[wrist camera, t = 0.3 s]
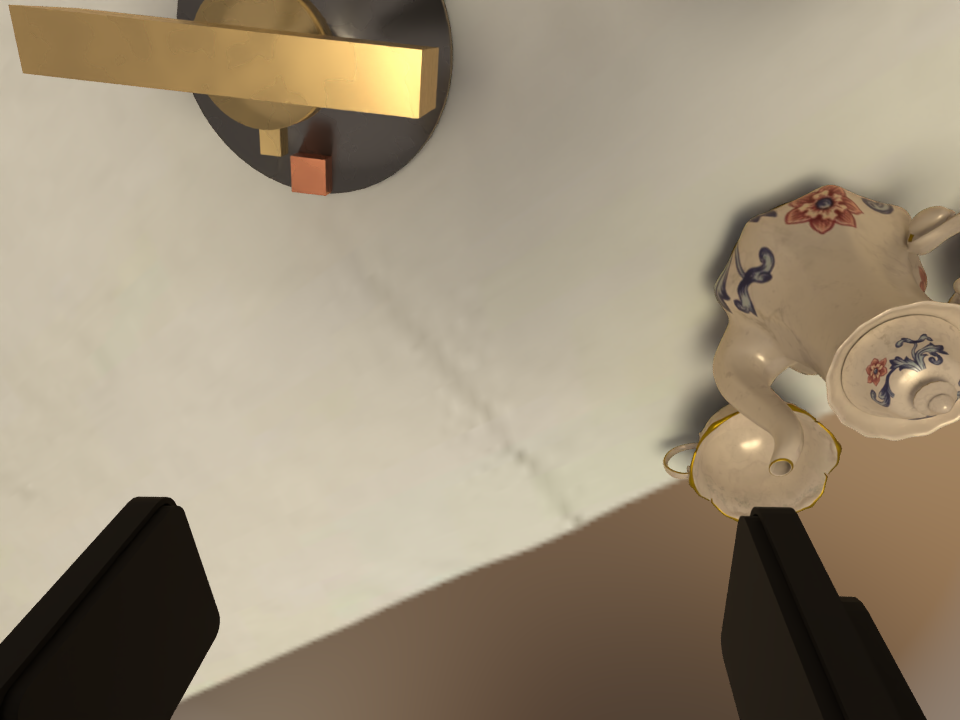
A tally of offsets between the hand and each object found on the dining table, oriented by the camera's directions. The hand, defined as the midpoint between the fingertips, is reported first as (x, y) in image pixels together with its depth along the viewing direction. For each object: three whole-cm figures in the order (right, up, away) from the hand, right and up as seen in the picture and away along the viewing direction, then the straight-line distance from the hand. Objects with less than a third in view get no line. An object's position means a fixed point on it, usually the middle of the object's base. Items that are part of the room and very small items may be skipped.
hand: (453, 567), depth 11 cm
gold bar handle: (-9, +18, +19) cm, 28 cm away
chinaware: (+22, +7, +29) cm, 37 cm away
